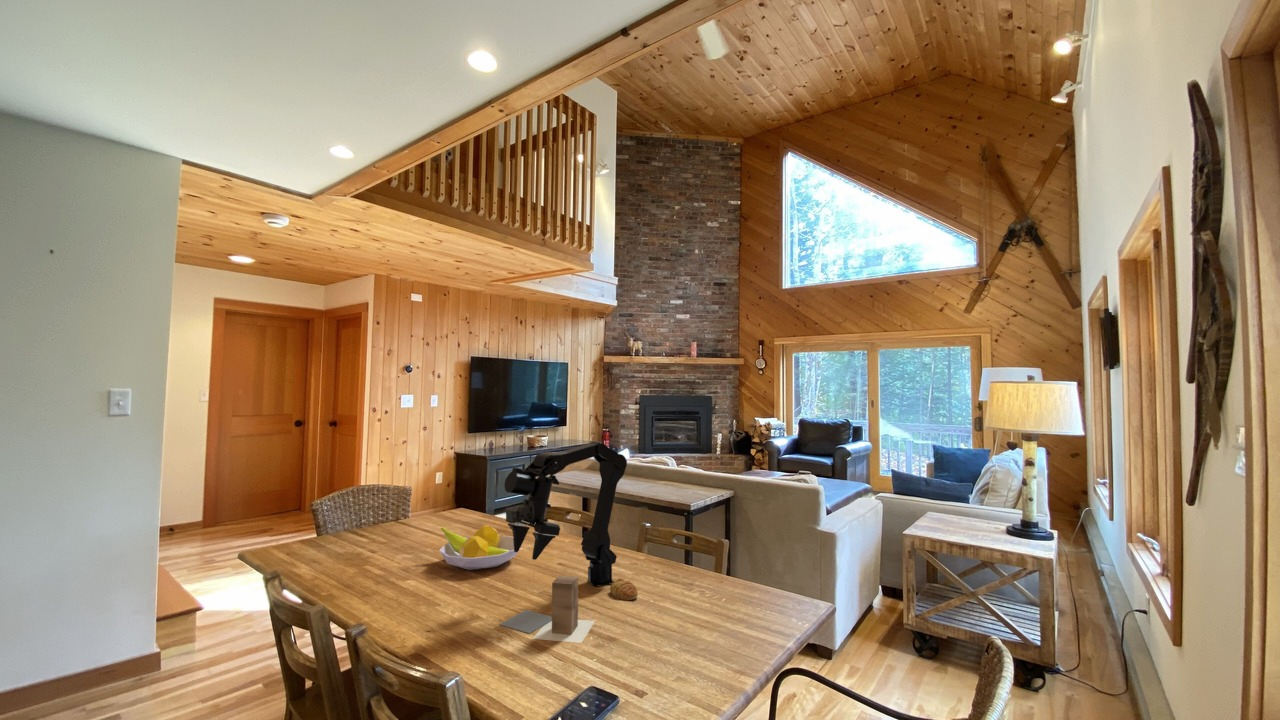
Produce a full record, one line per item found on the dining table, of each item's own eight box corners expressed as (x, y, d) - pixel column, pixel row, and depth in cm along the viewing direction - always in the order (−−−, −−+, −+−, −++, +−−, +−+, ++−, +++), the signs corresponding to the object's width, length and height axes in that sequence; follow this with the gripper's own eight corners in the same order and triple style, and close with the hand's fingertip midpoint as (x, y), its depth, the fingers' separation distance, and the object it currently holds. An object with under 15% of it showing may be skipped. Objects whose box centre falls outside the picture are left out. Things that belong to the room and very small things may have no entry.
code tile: (550, 618, 141) (550, 617, 141) (595, 622, 139) (595, 620, 139) (532, 640, 129) (532, 638, 129) (581, 644, 127) (581, 642, 127)
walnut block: (558, 624, 137) (559, 575, 137) (577, 625, 136) (578, 576, 136) (551, 633, 132) (552, 582, 132) (571, 634, 131) (571, 584, 131)
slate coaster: (526, 612, 145) (526, 609, 145) (555, 620, 140) (555, 617, 140) (499, 626, 136) (499, 624, 136) (529, 635, 131) (529, 633, 131)
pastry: (643, 599, 154) (643, 585, 155) (623, 604, 151) (623, 590, 151) (627, 588, 162) (627, 575, 162) (607, 593, 159) (607, 580, 159)
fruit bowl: (537, 558, 189) (537, 525, 190) (475, 582, 167) (476, 545, 167) (481, 546, 204) (482, 515, 205) (418, 566, 182) (419, 532, 182)
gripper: (497, 489, 154) (482, 546, 150) (533, 498, 141) (518, 561, 137) (529, 494, 161) (516, 549, 158) (567, 504, 148) (553, 564, 144)
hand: (524, 555), depth 149 cm, fingers open, 9 cm apart
